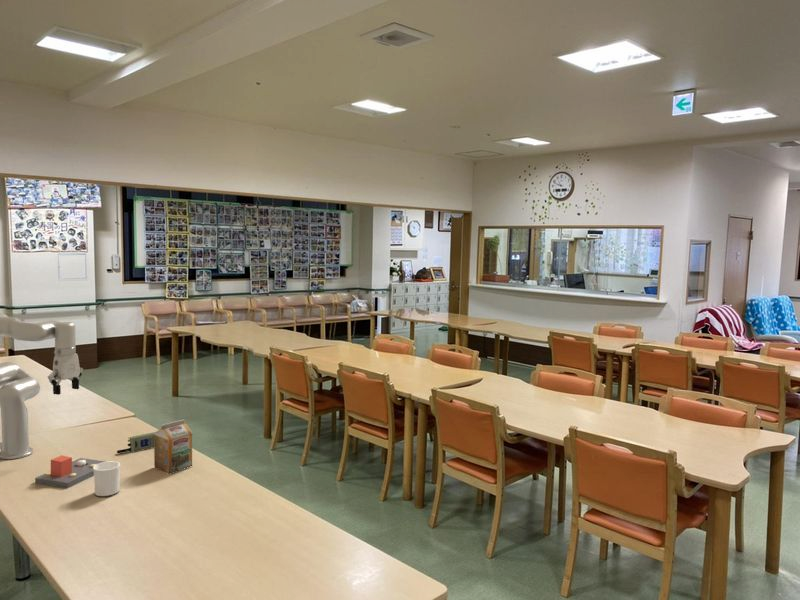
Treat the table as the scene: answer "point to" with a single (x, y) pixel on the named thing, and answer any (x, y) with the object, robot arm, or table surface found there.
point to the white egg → (81, 463)
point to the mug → (106, 478)
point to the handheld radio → (139, 442)
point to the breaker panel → (70, 475)
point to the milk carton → (173, 447)
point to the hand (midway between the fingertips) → (66, 391)
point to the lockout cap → (61, 466)
